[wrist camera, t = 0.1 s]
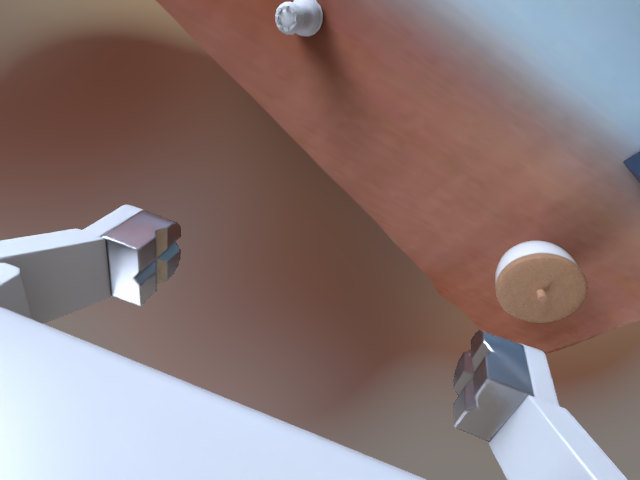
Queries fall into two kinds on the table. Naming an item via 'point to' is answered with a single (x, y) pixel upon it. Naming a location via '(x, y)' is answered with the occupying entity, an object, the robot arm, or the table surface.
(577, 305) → the trinket box
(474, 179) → the table surface
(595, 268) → the table surface
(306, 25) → the rook chess piece
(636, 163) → the blue box
